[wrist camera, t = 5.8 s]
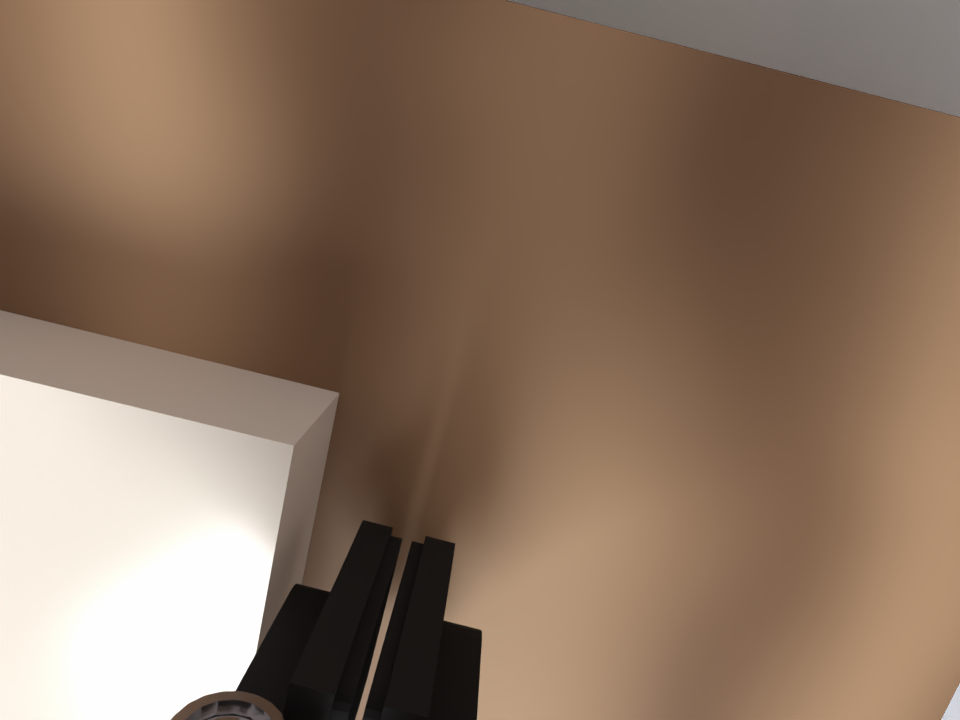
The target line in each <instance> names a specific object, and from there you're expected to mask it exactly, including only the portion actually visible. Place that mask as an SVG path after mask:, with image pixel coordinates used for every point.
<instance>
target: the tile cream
mask: <svg viewBox="0 0 960 720" xmlns="http://www.w3.org/2000/svg"><path fill="white" fill-rule="evenodd" d="M338 398H339V393H338V392H334V391H330V390H325V389H321V388H317V387H313V386H309V385H305V384H301V383H297V382H293V381H289V380H285V379H280V378H276V377H272V376H268V375H264V374H260V373H256V372H252V371H248V370H244V369H239V368H235V367H231V366H227V365H223V364H219V363H215V362H211V361H207V360H203V359H199V358H194V357H190V356H186V355H182V354H178V353H174V352H170V351H166V350H162V349H158V348H153V347H149V346H145V345H141V344H137V343H133V342H129V341H125V340H121V339H117V338H113V337H108V336H104V335H100V334H96V333H92V332H88V331H84V330H80V329H76V328H72V327H68V326H63V325H59V324H55V323H51V322H47V321H43V320H39V319H35V318H31V317H27V316H22V315H18V314H14V313H10V312H6V311H2V310H0V720H171V719H172V717H173V716H174V715H175V714H176V713H178V712H179V711H180V710H181V709H182V708H183V707H185V706H186V705H187V704H188V703H190V702H192V701H194V700H196V699H198V698H200V697H202V696H204V695H208V694H213V693H217V692H221V691H236V689H237V687H238V685H239V683H240V681H241V680H242V678H243V676H244V674H245V672H246V671H247V669H248V667H249V665H250V663H251V661H252V660H253V658H254V656H255V654H256V652H257V651H258V649H259V647H260V645H261V643H262V642H263V640H264V638H265V636H266V634H267V632H268V631H269V629H270V627H271V625H272V623H273V622H274V620H275V618H276V616H277V614H278V612H279V611H280V609H281V607H282V605H283V603H284V602H285V600H286V598H287V596H288V594H289V592H290V591H291V589H292V588H293V586H294V585H295V584H301V585H302V580H303V575H304V570H305V565H306V560H307V555H308V550H309V545H310V540H311V534H312V529H313V524H314V519H315V514H316V509H317V504H318V499H319V494H320V489H321V484H322V479H323V474H324V469H325V464H326V458H327V453H328V448H329V443H330V438H331V433H332V428H333V423H334V418H335V413H336V408H337V403H338Z"/></svg>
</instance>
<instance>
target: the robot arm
mask: <svg viewBox="0 0 960 720" xmlns="http://www.w3.org/2000/svg"><path fill="white" fill-rule="evenodd" d="M392 531H393V527H389V526H385V525H381V524H377V523H373V522H369V521H366V520H363V521H362V523H361V525H360V527H359V529H358V532H357V534H356V536H355V538H354V541H353V543H352V545H351V547H350V549H349V552H348V554H347V556H346V558H345V561H344V563H343V565H342V567H341V569H340V572H339V574H338V576H337V578H336V581H335V583H334V585H333V587H332V590H331V592H329V591H325V590H321V589H317V588H313V587H309V586H305V585H301V584H295V585H294V586H293V588H292V589H291V591H290V592H289V594H288V596H287V598H286V600H285V602H284V603H283V605H282V607H281V609H280V611H279V612H278V614H277V616H276V618H275V620H274V622H273V623H272V625H271V627H270V629H269V631H268V632H267V634H266V636H265V638H264V640H263V642H262V643H261V645H260V647H259V649H258V651H257V652H256V654H255V656H254V658H253V660H252V661H251V663H250V665H249V667H248V669H247V671H246V672H245V674H244V676H243V678H242V680H241V681H240V683H239V685H238V687H237V689H236V691H221V692H217V693H213V694H208V695H204V696H202V697H200V698H198V699H196V700H194V701H192V702H190V703H188V704H187V705H186V706H185V707H183V708H182V709H181V710H180V711H179V712H178V713H176V714H175V715H174V716H173V717H172V719H171V720H355V719H356V715H357V712H358V709H359V705H360V702H361V698H362V695H363V692H364V688H365V685H366V681H367V677H368V674H369V670H370V666H371V662H372V658H373V654H374V650H375V646H376V643H377V639H378V635H379V631H380V627H381V623H382V619H383V615H384V611H385V607H386V603H387V599H388V595H389V591H390V587H391V583H392V579H393V575H394V571H395V567H396V563H397V559H398V555H399V551H400V547H401V543H402V538H398V537H394V536H391V535H392ZM454 550H455V543H452V542H448V541H444V540H440V539H436V538H433V537H429V536H426V537H425V541H424V544H422V543H418V542H414V541H412V543H411V546H410V550H409V553H408V557H407V560H406V564H405V567H404V571H403V575H402V578H401V582H400V585H399V589H398V592H397V596H396V599H395V603H394V607H393V610H392V614H391V617H390V621H389V624H388V628H387V631H386V635H385V639H384V642H383V646H382V649H381V653H380V656H379V660H378V663H377V667H376V671H375V674H374V678H373V681H372V685H371V688H370V692H369V696H368V699H367V703H366V707H365V711H364V715H363V718H362V720H477V711H478V695H479V679H480V663H481V648H482V631H481V630H480V629H476V628H472V627H468V626H464V625H460V624H456V623H452V622H448V621H444V615H445V608H446V602H447V596H448V589H449V583H450V576H451V570H452V563H453V557H454Z"/></svg>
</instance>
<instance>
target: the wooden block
mask: <svg viewBox="0 0 960 720" xmlns="http://www.w3.org/2000/svg"><path fill="white" fill-rule="evenodd" d="M0 310H2V311H6V312H10V313H14V314H18V315H22V316H27V317H31V318H35V319H39V320H43V321H47V322H51V323H55V324H59V325H63V326H68V327H72V328H76V329H80V330H84V331H88V332H92V333H96V334H100V335H104V336H108V337H113V338H117V339H121V340H125V341H129V342H133V343H137V344H141V345H145V346H149V347H153V348H158V349H162V350H166V351H170V352H174V353H178V354H182V355H186V356H190V357H194V358H199V359H203V360H207V361H211V362H215V363H219V364H223V365H227V366H231V367H235V368H239V369H244V370H248V371H252V372H256V373H260V374H264V375H268V376H272V377H276V378H280V379H285V380H289V381H293V382H297V383H301V384H305V385H309V386H313V387H317V388H321V389H325V390H330V391H334V392H338V393H339V398H338V403H337V408H336V413H335V418H334V423H333V428H332V433H331V438H330V443H329V448H328V453H327V458H326V464H325V469H324V474H323V479H322V484H321V489H320V494H319V499H318V504H317V509H316V514H315V519H314V524H313V529H312V534H311V540H310V545H309V550H308V555H307V560H306V565H305V570H304V575H303V580H302V585H305V586H309V587H313V588H317V589H321V590H325V591H329V592H331V590H332V587H333V585H334V583H335V581H336V578H337V576H338V574H339V572H340V569H341V567H342V565H343V563H344V561H345V558H346V556H347V554H348V552H349V549H350V547H351V545H352V543H353V541H354V538H355V536H356V534H357V532H358V529H359V527H360V525H361V523H362V521H363V520H366V521H369V522H373V523H377V524H381V525H385V526H389V527H393V531H392V535H391V536H394V537H398V538H402V543H401V547H400V551H399V555H398V559H397V563H396V567H395V571H394V575H393V579H392V583H391V587H390V591H389V595H388V599H387V603H386V607H385V611H384V615H383V619H382V623H381V627H380V631H379V635H378V639H377V643H376V646H375V650H374V654H373V658H372V662H371V666H370V670H369V674H368V677H367V681H366V685H365V688H364V692H363V695H362V698H361V702H360V705H359V709H358V712H357V715H356V719H355V720H362V718H363V715H364V711H365V707H366V703H367V699H368V696H369V692H370V688H371V685H372V681H373V678H374V674H375V671H376V667H377V663H378V660H379V656H380V653H381V649H382V646H383V642H384V639H385V635H386V631H387V628H388V624H389V621H390V617H391V614H392V610H393V607H394V603H395V599H396V596H397V592H398V589H399V585H400V582H401V578H402V575H403V571H404V567H405V564H406V560H407V557H408V553H409V550H410V546H411V543H412V541H414V542H418V543H422V544H424V541H425V537H426V536H429V537H433V538H436V539H440V540H444V541H448V542H452V543H455V550H454V557H453V563H452V570H451V576H450V583H449V589H448V596H447V602H446V608H445V615H444V621H448V622H452V623H456V624H460V625H464V626H468V627H472V628H476V629H480V630H481V631H482V648H481V663H480V679H479V695H478V711H477V720H941V718H942V717H943V715H944V713H945V711H946V709H947V707H948V705H949V703H950V701H951V699H952V697H953V695H954V693H955V691H956V689H957V687H958V685H959V683H960V117H956V116H952V115H949V114H945V113H941V112H937V111H933V110H929V109H925V108H921V107H918V106H914V105H910V104H906V103H902V102H898V101H894V100H890V99H887V98H883V97H879V96H875V95H871V94H867V93H863V92H859V91H856V90H852V89H848V88H844V87H840V86H836V85H832V84H828V83H825V82H821V81H817V80H813V79H809V78H805V77H801V76H797V75H793V74H790V73H786V72H782V71H778V70H774V69H770V68H766V67H762V66H759V65H755V64H751V63H747V62H743V61H739V60H735V59H731V58H728V57H724V56H720V55H716V54H712V53H708V52H704V51H700V50H697V49H693V48H689V47H685V46H681V45H677V44H673V43H669V42H666V41H662V40H658V39H654V38H650V37H646V36H642V35H638V34H634V33H631V32H627V31H623V30H619V29H615V28H611V27H607V26H603V25H600V24H596V23H592V22H588V21H584V20H580V19H576V18H572V17H569V16H565V15H561V14H557V13H553V12H549V11H545V10H541V9H538V8H534V7H530V6H526V5H522V4H518V3H514V2H510V1H507V0H0Z"/></svg>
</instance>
